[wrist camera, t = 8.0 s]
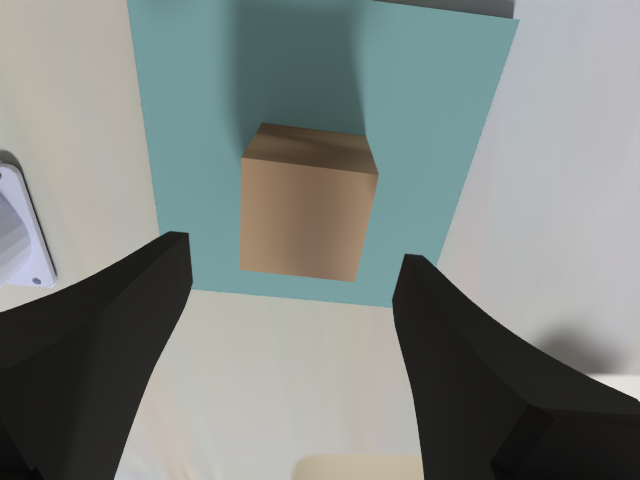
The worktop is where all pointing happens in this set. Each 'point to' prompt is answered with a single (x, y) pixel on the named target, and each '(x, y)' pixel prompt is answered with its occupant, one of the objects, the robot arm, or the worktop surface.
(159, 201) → the mat
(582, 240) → the worktop surface
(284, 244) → the walnut cube
